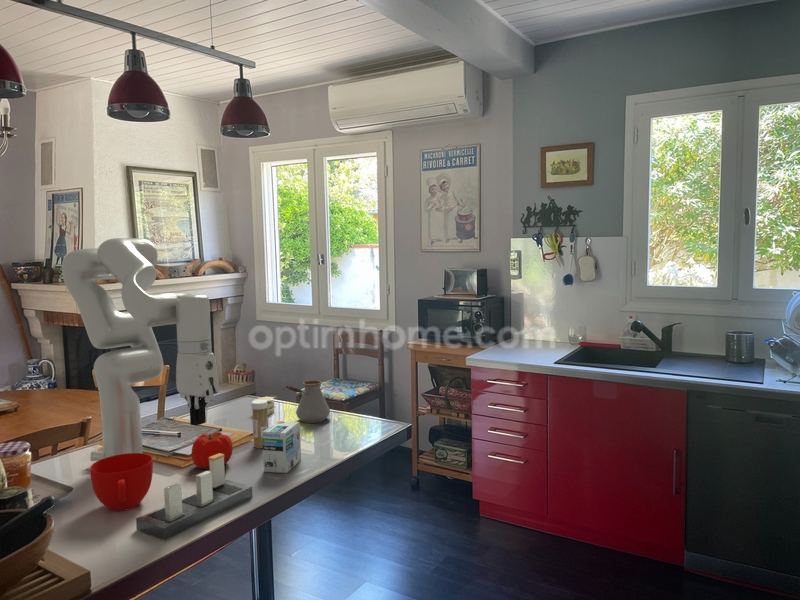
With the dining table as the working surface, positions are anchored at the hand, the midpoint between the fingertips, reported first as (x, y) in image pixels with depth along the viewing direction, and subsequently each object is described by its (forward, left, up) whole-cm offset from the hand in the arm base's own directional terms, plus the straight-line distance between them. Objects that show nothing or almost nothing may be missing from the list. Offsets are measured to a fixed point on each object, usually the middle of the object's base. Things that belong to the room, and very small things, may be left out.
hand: (198, 423), depth 141 cm
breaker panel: (+3, -11, -17) cm, 20 cm away
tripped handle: (+5, -3, -14) cm, 15 cm away
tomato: (-3, +17, -17) cm, 24 cm away
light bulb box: (+16, +17, -17) cm, 29 cm away
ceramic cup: (-14, -9, -17) cm, 24 cm away
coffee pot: (+15, +55, -17) cm, 60 cm away
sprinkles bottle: (+6, +33, -17) cm, 38 cm away
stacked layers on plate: (-2, +68, -17) cm, 70 cm away
